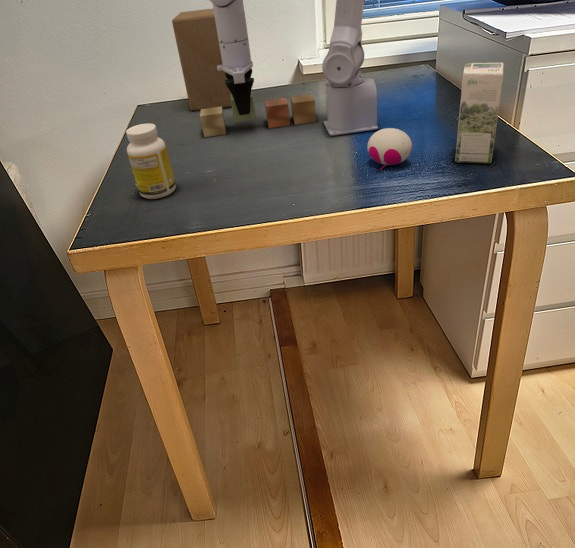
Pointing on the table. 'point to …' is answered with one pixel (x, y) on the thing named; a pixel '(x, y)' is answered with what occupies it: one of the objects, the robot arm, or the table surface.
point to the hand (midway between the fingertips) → (244, 110)
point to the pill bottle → (150, 162)
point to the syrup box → (479, 112)
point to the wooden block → (201, 59)
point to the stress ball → (389, 146)
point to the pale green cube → (247, 116)
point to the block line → (274, 111)
